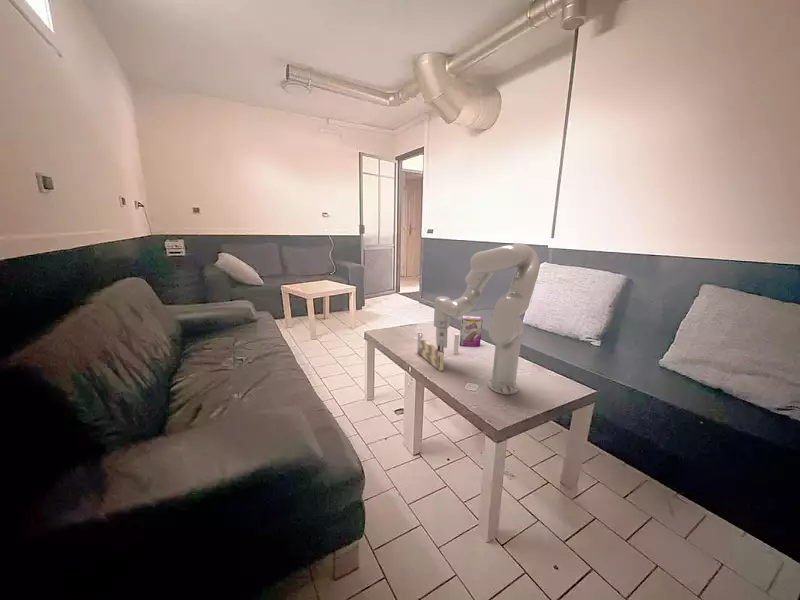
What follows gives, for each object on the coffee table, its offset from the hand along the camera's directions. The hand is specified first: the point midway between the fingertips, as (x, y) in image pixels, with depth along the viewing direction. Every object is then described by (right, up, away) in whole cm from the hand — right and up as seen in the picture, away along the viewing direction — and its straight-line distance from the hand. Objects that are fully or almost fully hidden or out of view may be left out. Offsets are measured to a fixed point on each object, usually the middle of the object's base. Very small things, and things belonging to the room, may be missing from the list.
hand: (439, 358), depth 153 cm
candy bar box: (+20, +3, +25) cm, 32 cm away
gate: (-4, -2, +2) cm, 5 cm away
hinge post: (-9, 0, +13) cm, 16 cm away
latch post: (+10, 0, +13) cm, 17 cm away
